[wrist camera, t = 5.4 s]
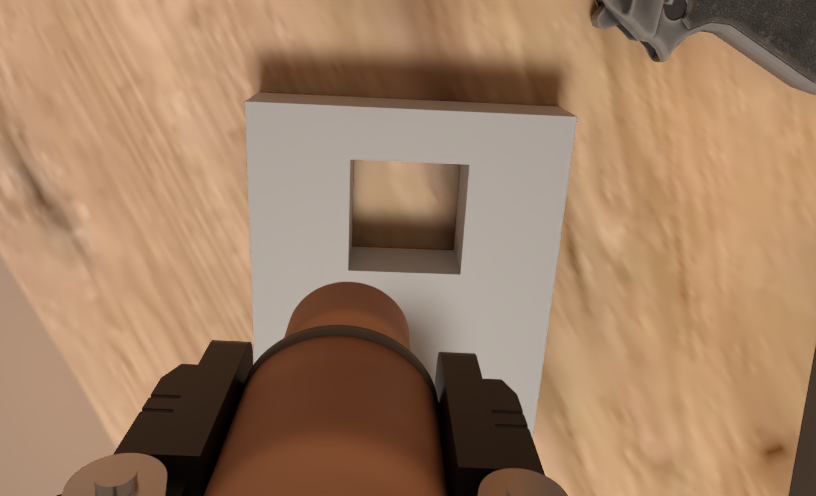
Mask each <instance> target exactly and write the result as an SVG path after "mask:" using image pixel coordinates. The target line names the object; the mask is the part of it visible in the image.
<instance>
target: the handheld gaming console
mask: <svg viewBox="0 0 816 496" xmlns="http://www.w3.org/2000/svg"><path fill="white" fill-rule="evenodd" d="M789 496H816V350H815V355H814V361H813V366H812V372H811V377H810V383H809V388H808V394H807V400H806V405H805V411H804V416H803V422H802V427H801V433H800V438H799V444H798V449H797V455H796V460H795V466H794V471H793V477H792V483H791V488H790V494H789Z"/></svg>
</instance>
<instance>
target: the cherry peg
mask: <svg viewBox="0 0 816 496" xmlns="http://www.w3.org/2000/svg"><path fill="white" fill-rule="evenodd" d="M439 415H440V410H439V403H438V396H437V392H436V389H435V385H434V383H433V381H432V379H431V377H430V375H429V373H428V372H427V370H426V368H425V367H424V365H423V364H422V363H421V362H420V361H419V359H418V358H417V357H416V356H415V355H414V354H413V353H412V352H411V350H410V337H409V328H408V324H407V320H406V318H405V316H404V314H403V312H402V310H401V309H400V307H399V306H398V305H397V303H396V302H395V301H394V300H393V299H392V298H391V297H389V296H388V295H387V294H385V293H384V292H383V291H381V290H379V289H377V288H375V287H373V286H370V285H367V284H363V283H358V282H337V283H332V284H328V285H325V286H323V287H320V288H318V289H316V290H314V291H313V292H311V293H310V294H308V295H307V296H306V297H305V298H304V299H303V300H302V301H301V302H300V303H299V304H298V305H297V307H296V308H295V310H294V312H293V313H292V316H291V318H290V321H289V324H288V327H287V330H286V333H285V336H284V338H283V339H282V340H280V341H278V342H277V343H275V344H274V345H273V346H271V347H270V348H268V349H267V350H266V351H265V352H264V353H263V354H262V355H261V356H260V357H259V358H258V360H257V361H256V362H255V363H254V365H253V366H252V367H251V369H250V371H249V373H248V374H247V376H246V378H245V381H244V383H243V386H242V389H241V391H240V402H239V404H238V407H237V410H236V412H235V415H234V417H233V420H232V423H231V425H230V428H229V431H228V433H227V436H226V438H225V441H224V444H223V446H222V449H221V452H220V454H219V457H218V459H217V462H216V465H215V467H214V470H213V473H212V475H211V478H210V480H209V483H208V486H207V488H206V491H205V494H204V496H448V493H447V485H446V478H445V470H444V462H443V455H442V447H441V439H440V432H439Z"/></svg>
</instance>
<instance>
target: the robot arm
mask: <svg viewBox="0 0 816 496" xmlns="http://www.w3.org/2000/svg"><path fill="white" fill-rule="evenodd" d="M252 366H253V350H252V344H251V342H240V341H219V340H212V341H211V342H210V344H209V346H208V348H207V349H206V351H205V353H204V355H203V357H202V359H201V360H200V362H199V364H198V365H192V364H181V365H179V366H178V367H176V368H175V369H173V370H172V371H171V372H169V373H168V374H166V375H165V376H163V377H162V378H161V379H160V381H159V382H158V384H157V386H156V387H155V389H154V390H153V392H152V394H151V398H148V400H147V402H146V403H145V405H144V406H143V408H142V412H140V413H139V414H138V416H137V418H136V419H135V421H134V422H133V424H132V426H131V427H130V429H129V430H128V432H127V433H126V435H125V437H124V438H123V440H122V441H121V443H120V445H119V446H118V448H117V449H116V451H115V453H114V454H113V455H111V456H107V457H104V458H101V459H98V460H95V461H93V462H91V463H89V464H87V465H86V466H84V467H82V468H81V469H80V470H78V471H77V472H76V473H75V474H74V475H73V476H72V477H71V478H70V479H69V480H68V482H67V483H66V485H65V487H64V490H63V492H62V494H60V495H57V496H204V494H205V491H206V488H207V486H208V483H209V480H210V478H211V475H212V473H213V470H214V467H215V465H216V462H217V459H218V457H219V454H220V452H221V449H222V446H223V444H224V441H225V438H226V436H227V433H228V431H229V428H230V425H231V423H232V420H233V417H234V415H235V412H236V410H237V407H238V404H239V402H240V391H241V389H242V386H243V383H244V381H245V378H246V376H247V374H248V373H249V371H250V369H251V367H252ZM435 389H436V392H437V396H438V403H439V410H440V415H439V432H440V439H441V447H442V455H443V462H444V470H445V478H446V485H447V493H448V496H568V495H567V494H566V492H565V491H564V490H563V489H562V488H561V486H559V485H558V484H557V483H556V482H555V481H553V480H552V479H550V478H548V477H546V476H545V474H544V471H543V468H542V465H541V462H540V459H539V456H538V453H537V451H536V448H535V445H534V442H533V439H532V436H531V433H530V430H529V429H528V424H527V422H526V419H525V416H524V415H523V410H522V407H521V404H520V401H519V398H518V395H517V394H516V393H515V392H514V391H513V390H512V389H511V388H510V387H509V386H508V385H507V384H506V383H505V382H504V381H503V380H502V379H483V378H482V374H481V370H480V367H479V363H478V359H477V356H476V354H475V353H457V352H439V353H438V358H437V365H436V376H435Z"/></svg>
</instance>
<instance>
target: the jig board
mask: <svg viewBox="0 0 816 496" xmlns="http://www.w3.org/2000/svg"><path fill="white" fill-rule="evenodd" d="M245 117H246V144H247V172H248V199H249V226H250V254H251V281H252V308H253V336H254V363H255V362H256V361H257V360H258V358H259V357H260V356H261V355H262V354H263V353H264V352H265V351H266V350H267V349H268V348H270V347H271V346H273V345H274V344H275V343H277V342H278V341H280V340H282V339H283V338H284V336H285V333H286V330H287V327H288V324H289V321H290V318H291V316H292V313H293V312H294V310H295V308H296V307H297V305H298V304H299V303H300V302H301V301H302V300H303V299H304V298H305V297H306V296H307V295H308V294H310V293H311V292H313V291H314V290H316V289H318V288H320V287H323V286H325V285H328V284H332V283H337V282H358V283H363V284H367V285H370V286H373V287H375V288H377V289H379V290H381V291H383V292H384V293H385V294H387V295H388V296H389V297H391V298H392V299H393V300H394V301H395V302H396V303H397V305H398V306H399V307H400V309H401V310H402V312H403V314H404V316H405V318H406V320H407V324H408V328H409V337H410V350H411V352H412V353H413V354H414V355H415V356H416V357H417V358H418V359H419V361H420V362H421V363H422V364H423V365H424V367H425V368H426V370H427V372H428V373H429V375H430V377H431V379H432V381H433V383H434V385H435V376H436V365H437V358H438V353H439V352H457V353H475V354H476V356H477V359H478V363H479V367H480V370H481V374H482V378H483V379H502V380H503V381H504V382H505V383H506V384H507V385H508V386H509V387H510V388H511V389H512V390H513V391H514V392H515V393H516V394H517V395H518V398H519V401H520V404H521V407H522V410H523V415H524V416H525V419H526V422H527V424H528V429H529V430H530V433H531V436H532V439H533V432H534V425H535V418H536V411H537V403H538V396H539V389H540V382H541V374H542V367H543V360H544V353H545V346H546V338H547V331H548V324H549V317H550V310H551V302H552V295H553V288H554V281H555V273H556V266H557V259H558V252H559V245H560V237H561V230H562V223H563V216H564V208H565V201H566V194H567V187H568V180H569V172H570V165H571V158H572V151H573V144H574V136H575V129H576V122H577V116H575V115H573V114H571V113H569V112H568V111H566V110H564V109H562V108H561V107H559V106H542V105H521V104H499V103H478V102H457V101H435V100H414V99H393V98H372V97H350V96H329V95H308V94H286V93H265V92H259V93H258V94H256V95H254V96H253V97H251V98H250V99H248V100H246V101H245ZM354 160H372V161H396V162H419V163H443V164H461V165H460V178H459V190H458V203H457V216H456V228H455V241H454V250H434V249H407V248H380V247H353V246H352V220H353V173H354Z"/></svg>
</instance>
